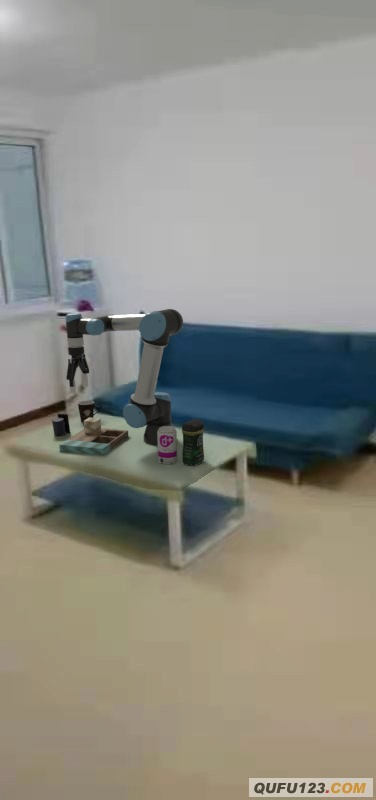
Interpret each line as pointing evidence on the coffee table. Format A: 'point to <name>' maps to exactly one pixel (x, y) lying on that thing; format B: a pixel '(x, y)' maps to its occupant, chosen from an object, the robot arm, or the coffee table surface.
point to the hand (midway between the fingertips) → (79, 389)
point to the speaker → (61, 425)
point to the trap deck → (94, 441)
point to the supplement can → (167, 444)
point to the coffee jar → (193, 442)
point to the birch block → (92, 425)
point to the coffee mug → (87, 409)
